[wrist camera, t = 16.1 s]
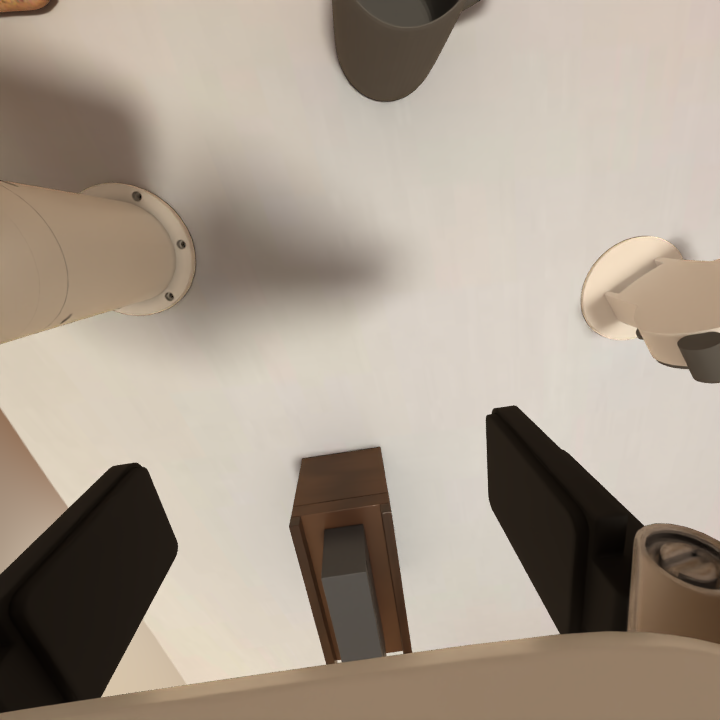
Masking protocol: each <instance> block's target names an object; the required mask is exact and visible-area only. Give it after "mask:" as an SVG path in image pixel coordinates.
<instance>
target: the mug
mask: <svg viewBox="0 0 720 720" xmlns="http://www.w3.org/2000/svg"><path fill="white" fill-rule="evenodd" d="M478 1H480V0H332V6H333V22H334V34H335V43H336V50H337V54H338V58H339V62H340V64H341V67H342V69H343V72H344V73H345V75H346V77H347V79H348V80H349V81H350V83H351V84H352V85H353V86H354V87H355V88H356V89H357V90H358V91H359V92H361V93H362V94H364V95H365V96H367V97H369V98H372V99H375V100H379V101H393V100H397V99H400V98H403V97H405V96H407V95H409V94H410V93H412V92H413V91H414V90H415V89H416V88H417V87H418V86H419V85H420V84H421V83H422V82H423V81H424V79H425V78H426V77H427V75H428V74H429V72H430V70H431V69H432V67H433V65H434V64H435V62H436V60H437V58H438V56H439V54H440V53H441V51H442V49H443V47H444V45H445V43H446V41H447V39H448V37H449V35H450V33H451V31H452V29H453V27H454V25H455V23H456V21H457V19H458V17H459V15H460V13H461V12H462V11H463V10H465V9H467V8H469V7H471V6H472V5H474V4H475V3H477V2H478Z"/></svg>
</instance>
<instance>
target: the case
mask: <svg viewBox="0 0 720 720" xmlns="http://www.w3.org/2000/svg"><path fill="white" fill-rule="evenodd" d="M49 1H50V0H0V12H7V11H25V10H36V9H39V8H42V7H44V6H45V5H47V4H48V3H49Z"/></svg>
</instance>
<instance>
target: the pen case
mask: <svg viewBox="0 0 720 720" xmlns="http://www.w3.org/2000/svg"><path fill="white" fill-rule="evenodd" d="M321 580H322V584H323V588H324V592H325V596H326V600H327V604H328V608H329V612H330V616H331V620H332V624H333V628H334V632H335V636H336V640H337V644H338V648H339V652H340V656H341V661H342V662H349V661H357V660H364V659H371V658H378V657H386V647H385V640H384V634H383V629H382V623H381V618H380V612H379V607H378V601H377V596H376V591H375V585H374V580H373V574H372V569H371V563H370V558H369V552H368V547H367V541H366V536H365V530H364V525H363V524H358V525H352V526H345V527H338V528H331V529H325V530H324V544H323V558H322V572H321Z"/></svg>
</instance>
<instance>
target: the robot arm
mask: <svg viewBox="0 0 720 720" xmlns="http://www.w3.org/2000/svg"><path fill="white" fill-rule="evenodd" d="M140 195H141V197H142V199H140ZM183 242H185V244H186V247H184V246H183ZM195 265H196V263H195V251H194V247H193V243H192V239H191V237H190V235H189V232H188V230H187V228H186V226H185V225H184V223H183V222H182V220H181V218H180V217H179V216H178V215H177V213H176V212H175V211H174V210H173V209H172V208H171V207H170V206H169V205H168V204H167V203H165V202H164V201H163V200H162V199H160V198H159V197H157V196H156V195H154V194H152V193H150V192H149V191H147V190H144V189H141V188H138V187H135V186H132V185H127V184H123V183H104V184H97V185H94V186H92V187H89V188H87V189H85V190H83V191H82V192H80V193H79V194H78V193H72V192H66V191H60V190H54V189H49V188H43V187H37V186H31V185H26V184H20V183H14V182H8V181H3V180H0V344H3V343H6V342H9V341H13V340H16V339H19V338H22V337H26V336H29V335H32V334H35V333H39V332H42V331H45V330H49V329H52V328H55V327H59V326H62V325H65V324H69V323H72V322H75V321H78V320H82V319H85V318H88V317H92V316H95V315H98V314H102V313H105V312H108V311H112V310H113V311H116V312H119V313H122V314H126V315H134V316H144V315H151V314H155V313H159V312H162V311H164V310H167V309H169V308H170V307H172V306H173V305H175V304H176V303H178V302H179V301H180V300H181V299H182V298H183V297H184V296H185V294H186V293H187V291H188V289H189V288H190V286H191V283H192V280H193V277H194V272H195ZM171 294H173V296H174V298H173V297H172V296H171ZM486 439H487V469H488V496H489V502H490V505H491V508H492V510H493V512H494V514H495V516H496V517H497V519H498V521H499V523H500V525H501V527H502V528H503V530H504V532H505V534H506V536H507V538H508V539H509V541H510V543H511V545H512V547H513V549H514V550H515V552H516V554H517V556H518V558H519V560H520V561H521V563H522V565H523V567H524V569H525V571H526V572H527V574H528V576H529V578H530V580H531V582H532V583H533V585H534V587H535V589H536V591H537V593H538V594H539V596H540V598H541V600H542V602H543V604H544V605H545V607H546V609H547V611H548V613H549V615H550V616H551V618H552V620H553V622H554V624H555V626H556V627H557V629H558V631H559V633H560V634H558V635H549V636H541V637H533V638H524V639H516V640H507V641H499V642H490V643H482V644H473V645H465V646H458V647H451V648H443V649H436V650H429V651H422V652H414V653H407V654H400V655H393V656H386V657H378V658H371V659H364V660H357V661H349V662H342V663H335V664H328V665H321V666H314V667H307V668H300V669H293V670H286V671H279V672H272V673H265V674H258V675H251V676H244V677H237V678H230V679H223V680H217V681H210V682H203V683H196V684H189V685H182V686H175V687H168V688H162V689H155V690H148V691H142V692H135V693H128V694H122V695H115V696H110V697H102V698H101V696H102V694H103V692H104V690H105V689H106V687H107V685H108V683H109V681H110V679H111V677H112V675H113V674H114V672H115V670H116V668H117V666H118V664H119V662H120V660H121V658H122V656H123V655H124V653H125V651H126V649H127V647H128V645H129V644H130V642H131V640H132V638H133V636H134V634H135V632H136V631H137V629H138V627H139V625H140V623H141V621H142V619H143V617H144V616H145V614H146V612H147V610H148V608H149V606H150V604H151V602H152V601H153V599H154V597H155V595H156V593H157V591H158V589H159V587H160V586H161V584H162V582H163V580H164V578H165V576H166V574H167V572H168V571H169V569H170V567H171V565H172V563H173V561H174V559H175V557H176V555H177V551H178V543H177V540H176V538H175V535H174V533H173V530H172V528H171V525H170V523H169V521H168V518H167V516H166V513H165V511H164V508H163V506H162V504H161V501H160V499H159V496H158V494H157V491H156V489H155V487H154V484H153V482H152V479H151V477H150V474H149V472H148V470H147V469H146V468H145V467H142V466H141V465H140V464H138V463H130V464H123V465H117V466H112V467H111V468H110V469H108V470H107V471H106V472H105V473H104V474H103V475H102V476H101V477H100V478H99V479H98V480H97V481H96V482H95V483H94V484H93V485H92V486H91V487H90V488H89V489H88V490H87V491H86V492H85V493H84V494H83V495H82V496H81V497H80V498H79V499H78V500H77V501H76V502H75V503H73V504H72V505H71V506H70V507H69V508H68V509H67V510H66V511H65V512H64V513H63V514H62V515H61V516H60V517H59V518H58V519H57V520H56V521H55V522H54V523H53V524H52V525H51V526H50V527H49V528H48V529H47V530H46V531H45V532H44V533H43V534H42V535H41V536H39V538H37V540H35V541H34V542H33V543H32V544H31V545H30V546H29V548H27V549H26V550H25V551H24V552H23V553H22V554H21V555H20V556H19V557H18V558H17V559H16V560H15V561H14V562H13V563H12V564H11V565H10V566H9V567H8V568H7V569H6V570H4V572H2V573H1V574H0V720H720V541H718V540H716V539H714V538H712V537H710V536H708V535H706V534H704V533H702V532H699V531H696V530H693V529H691V528H688V527H684V526H679V525H674V524H662V523H655V524H651V525H646V526H644V525H643V524H642V523H641V522H640V521H639V520H638V519H637V518H635V517H634V516H633V515H632V514H631V513H630V512H629V511H628V510H627V509H626V508H625V507H624V506H623V505H622V504H621V503H620V502H619V501H618V500H617V499H616V498H615V497H614V496H612V495H611V494H610V493H609V492H608V491H607V490H606V489H605V488H604V487H603V486H602V485H601V484H600V483H599V482H598V481H597V480H596V479H595V478H594V477H593V476H592V475H590V474H589V473H588V472H587V471H586V470H585V469H584V468H583V467H582V466H581V465H580V464H579V463H578V462H577V461H576V460H575V459H574V458H573V457H572V456H571V455H570V454H569V453H567V452H566V451H564V450H561V449H560V448H559V447H558V446H557V445H556V444H555V443H554V442H553V441H552V440H551V439H550V438H549V437H548V436H547V435H546V434H545V433H544V432H543V431H542V430H541V429H540V428H539V427H538V426H537V425H536V424H535V423H534V422H533V421H531V420H530V419H529V418H528V417H527V416H526V415H525V414H524V413H523V412H522V411H521V410H520V409H519V408H518V407H517V406H507V407H501V408H494V409H493V410H492V414H490V415H487V416H486Z"/></svg>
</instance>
